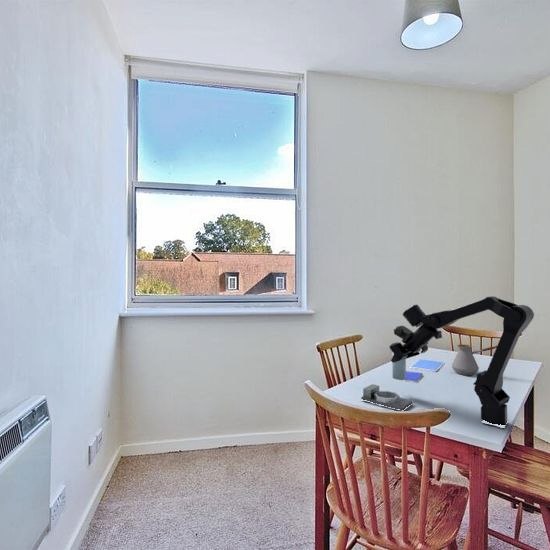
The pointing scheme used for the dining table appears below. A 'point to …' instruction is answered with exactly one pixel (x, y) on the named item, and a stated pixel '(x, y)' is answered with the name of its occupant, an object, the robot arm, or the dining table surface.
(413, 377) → the hard drive
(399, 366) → the grey capped canister
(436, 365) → the tablet computer
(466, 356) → the coffee pot
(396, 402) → the motor mount
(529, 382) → the dining table surface
